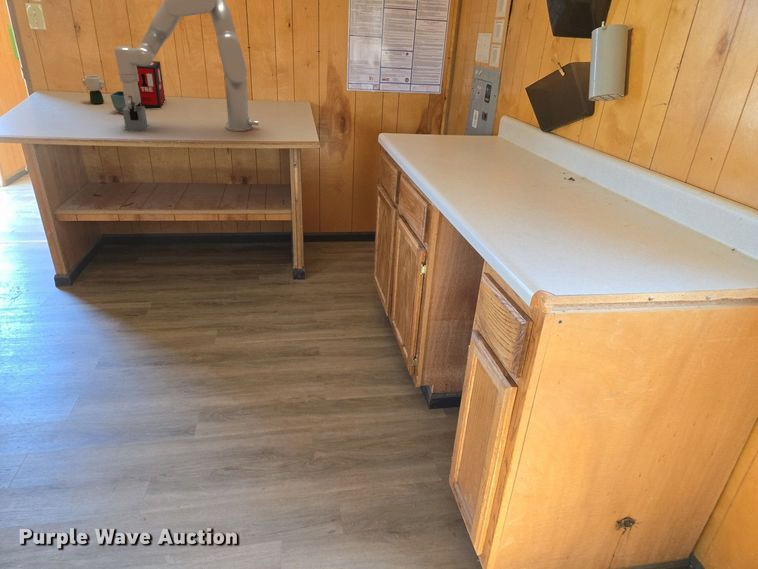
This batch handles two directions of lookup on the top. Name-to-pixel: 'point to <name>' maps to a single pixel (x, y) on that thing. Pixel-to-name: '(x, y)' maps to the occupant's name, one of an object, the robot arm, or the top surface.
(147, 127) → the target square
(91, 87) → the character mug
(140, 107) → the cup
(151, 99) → the cleaning product box
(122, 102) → the flower pot
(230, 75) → the robot arm
